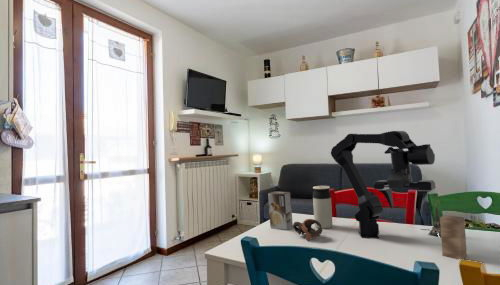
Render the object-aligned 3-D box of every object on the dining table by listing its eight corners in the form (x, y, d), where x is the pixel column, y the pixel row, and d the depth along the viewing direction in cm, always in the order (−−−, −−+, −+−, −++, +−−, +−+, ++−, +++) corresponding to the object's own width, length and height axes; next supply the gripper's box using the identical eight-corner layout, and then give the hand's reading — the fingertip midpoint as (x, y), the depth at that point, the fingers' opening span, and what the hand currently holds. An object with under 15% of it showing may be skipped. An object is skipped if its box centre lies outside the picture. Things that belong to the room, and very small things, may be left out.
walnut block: (442, 255, 88) (439, 217, 88) (448, 251, 91) (445, 214, 91) (461, 260, 84) (458, 220, 84) (466, 255, 87) (464, 217, 87)
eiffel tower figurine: (464, 243, 99) (461, 206, 99) (431, 242, 101) (429, 206, 102) (447, 231, 113) (445, 198, 113) (419, 230, 116) (417, 198, 116)
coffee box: (293, 226, 129) (291, 191, 129) (287, 230, 123) (285, 194, 124) (276, 224, 134) (274, 191, 134) (269, 227, 129) (267, 193, 129)
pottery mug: (321, 234, 117) (324, 220, 113) (318, 251, 109) (321, 236, 105) (293, 226, 120) (295, 212, 116) (288, 242, 112) (290, 227, 108)
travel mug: (334, 228, 122) (332, 187, 123) (316, 229, 123) (314, 188, 123) (329, 223, 130) (327, 185, 131) (312, 224, 130) (310, 186, 131)
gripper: (365, 168, 101) (370, 211, 100) (423, 166, 88) (429, 216, 87) (377, 165, 109) (382, 206, 108) (433, 163, 95) (438, 209, 94)
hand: (405, 209), depth 99 cm, fingers open, 9 cm apart
